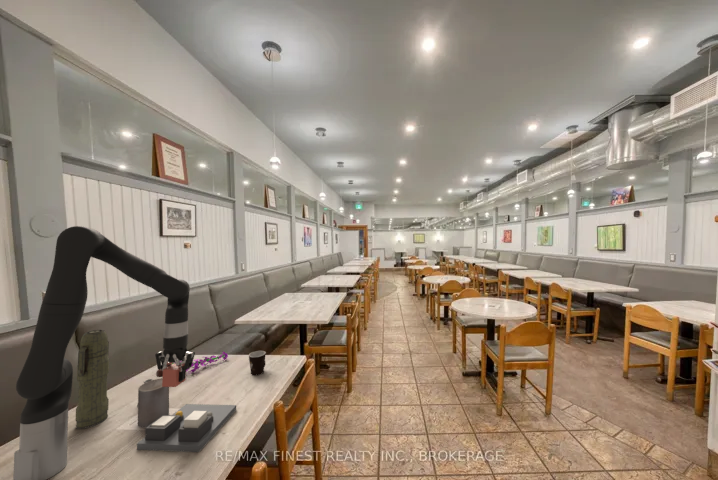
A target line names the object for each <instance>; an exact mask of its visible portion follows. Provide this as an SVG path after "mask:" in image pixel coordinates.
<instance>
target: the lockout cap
mask: <svg viewBox="0 0 718 480" xmlns="http://www.w3.org/2000/svg"><path fill="white" fill-rule="evenodd" d="M182 367H183V366H182ZM162 378H163V379H162V387H169V388H176V387H178V386H180V385H181V384H182V383H184V382H186V378H187V376H186V377H185V379H184V380H183V381H182V382H179V368H178V366H176V364H175V363H174V364H172V365H171V366H169V367H167V368H165V369H163V377H162Z"/></svg>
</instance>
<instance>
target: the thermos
mask: <svg viewBox="0 0 718 480" xmlns="http://www.w3.org/2000/svg"><path fill="white" fill-rule="evenodd" d="M108 337H109V336H108V334H107V332H106V330H104V329H94V330H89V331H87V332H85V333H84V334H83V335H82V337H81V339H80V341H79V342H80V343H79V350H78V353H77V367H76V368H77V369H76V380H77V382H78V388H77V389H78V390H77V391H78V395H77V406H76V408H75V422H76V424H75V428H76V429H78V430H82V429H87V428H91V427H93V426H96V425H98V424H100V423H103V422H104V421H105V420H107V419H108V416H109V415H108V411H109V398H108V374H109V372H110V358H109V346H110V345H109V342H110V341H109V339H108Z"/></svg>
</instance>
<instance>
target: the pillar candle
mask: <svg viewBox="0 0 718 480" xmlns="http://www.w3.org/2000/svg"><path fill="white" fill-rule="evenodd" d="M162 379H163V377H160V378H156V379H153V380H152V381H149V382H146V383H144V382H143V383H142V384H141V385H139V387H138V391H137V392H138V393H137V397H138V398H137V399H138V400H137V404H138V407H137V426H138V427H139V428H146V427H148V426H149V425H150V424H151V423H153V422H154V421H155V420H157V419H158V418H159V417H161V416H162V415H170V387H162Z"/></svg>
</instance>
